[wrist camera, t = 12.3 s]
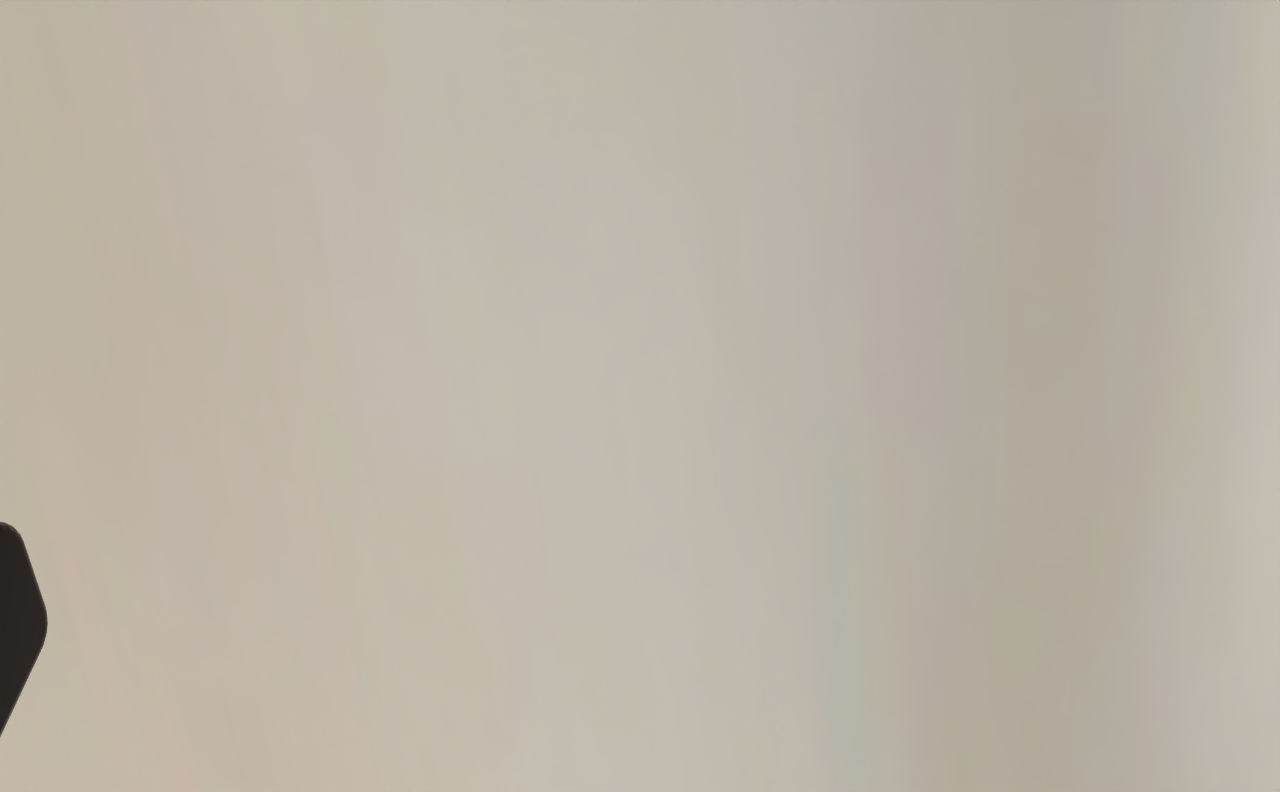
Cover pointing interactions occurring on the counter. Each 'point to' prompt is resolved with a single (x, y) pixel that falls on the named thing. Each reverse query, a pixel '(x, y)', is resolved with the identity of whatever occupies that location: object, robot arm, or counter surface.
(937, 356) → the counter surface
